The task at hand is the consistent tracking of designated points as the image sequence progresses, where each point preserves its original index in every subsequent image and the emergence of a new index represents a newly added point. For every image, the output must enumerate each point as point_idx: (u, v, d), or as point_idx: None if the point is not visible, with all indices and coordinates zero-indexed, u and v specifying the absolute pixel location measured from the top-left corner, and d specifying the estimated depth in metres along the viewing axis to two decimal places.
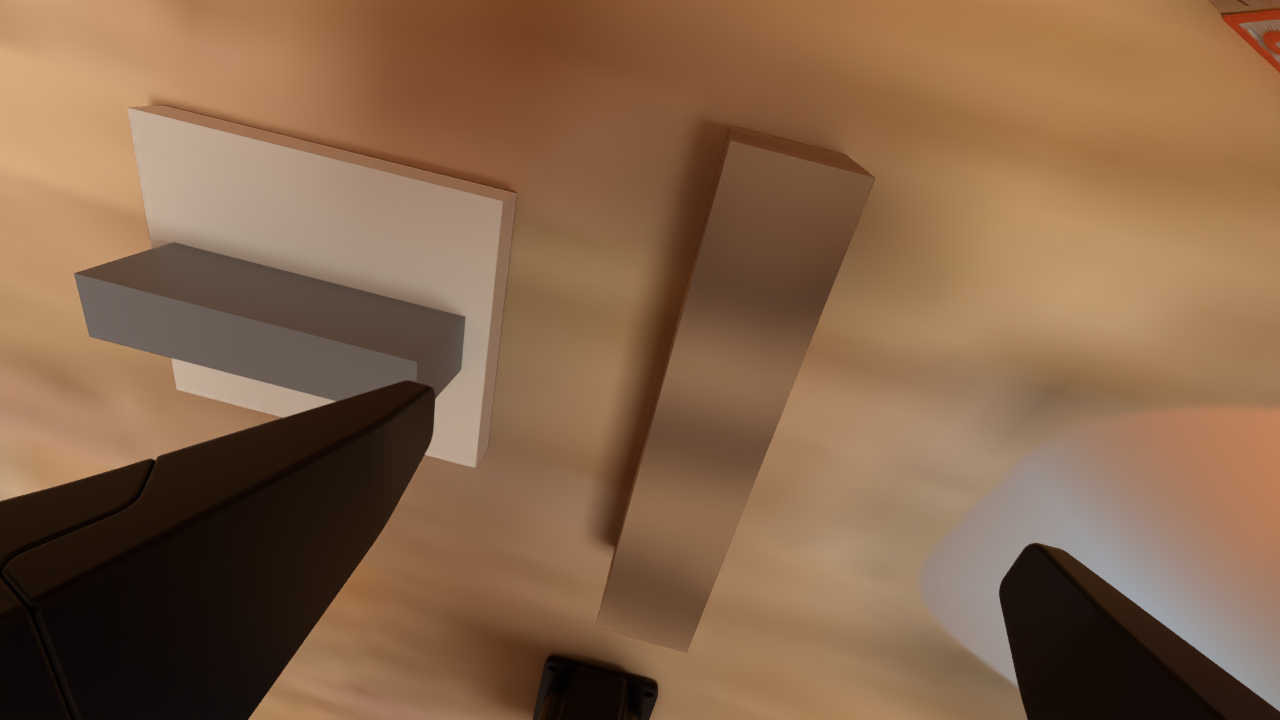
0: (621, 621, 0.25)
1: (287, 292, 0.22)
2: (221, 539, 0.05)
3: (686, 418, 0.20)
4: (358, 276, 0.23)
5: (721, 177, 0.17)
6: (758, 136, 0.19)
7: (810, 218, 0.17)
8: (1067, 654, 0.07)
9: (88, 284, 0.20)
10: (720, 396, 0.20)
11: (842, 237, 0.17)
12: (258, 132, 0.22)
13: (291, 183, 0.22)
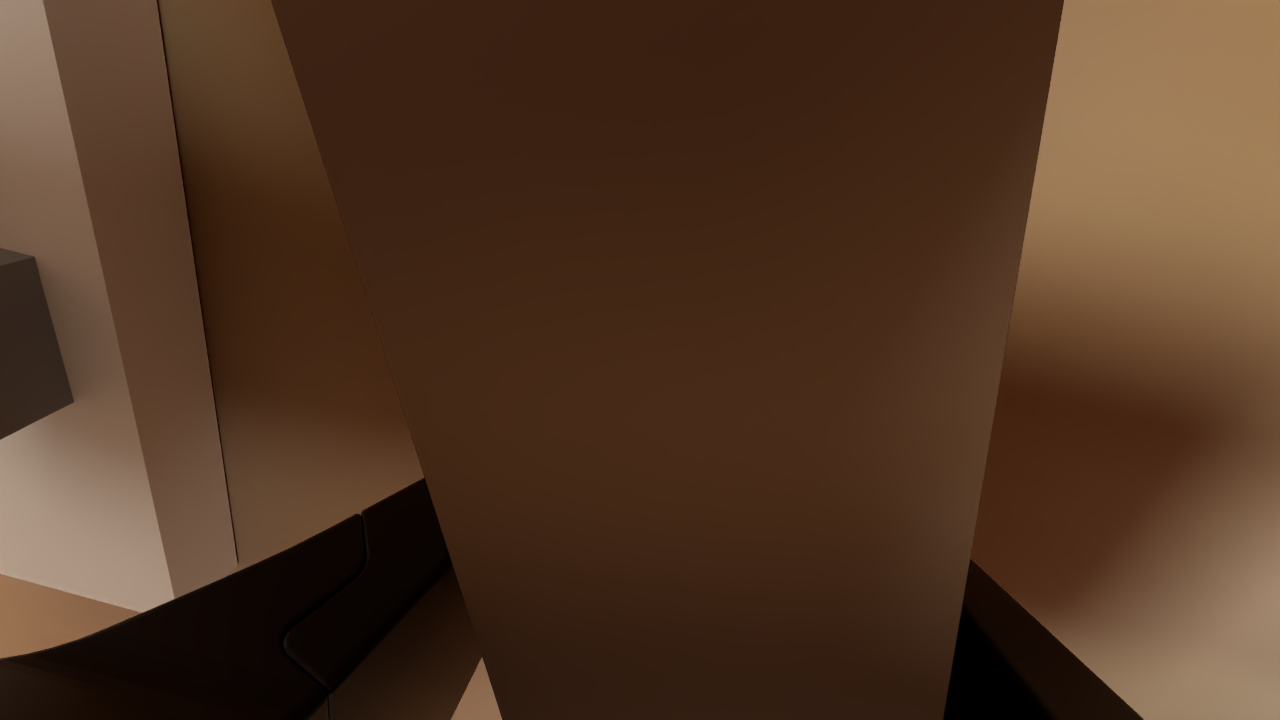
0: None
1: None
2: (440, 598, 0.05)
3: (593, 646, 0.05)
4: None
5: None
6: None
7: None
8: None
9: None
10: (677, 545, 0.05)
11: None
12: None
13: None
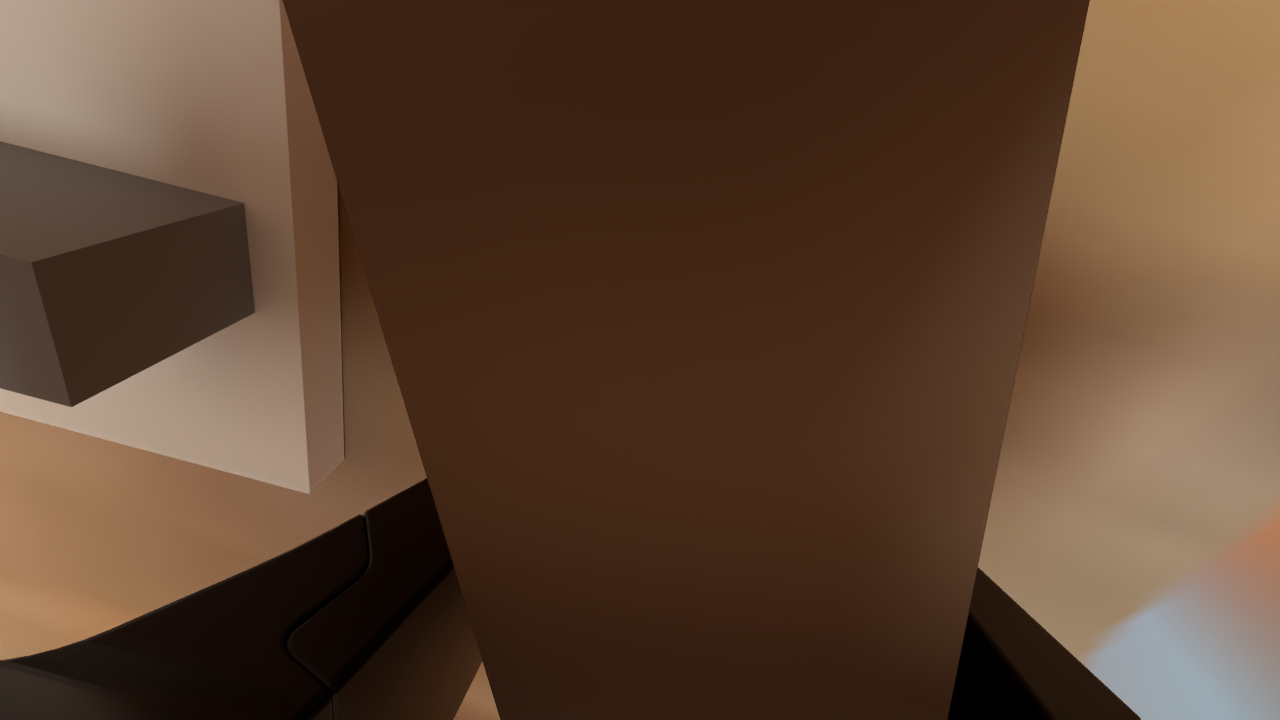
0: None
1: None
2: (443, 599, 0.05)
3: (593, 651, 0.05)
4: (28, 121, 0.12)
5: None
6: None
7: None
8: None
9: None
10: (682, 551, 0.05)
11: None
12: None
13: None
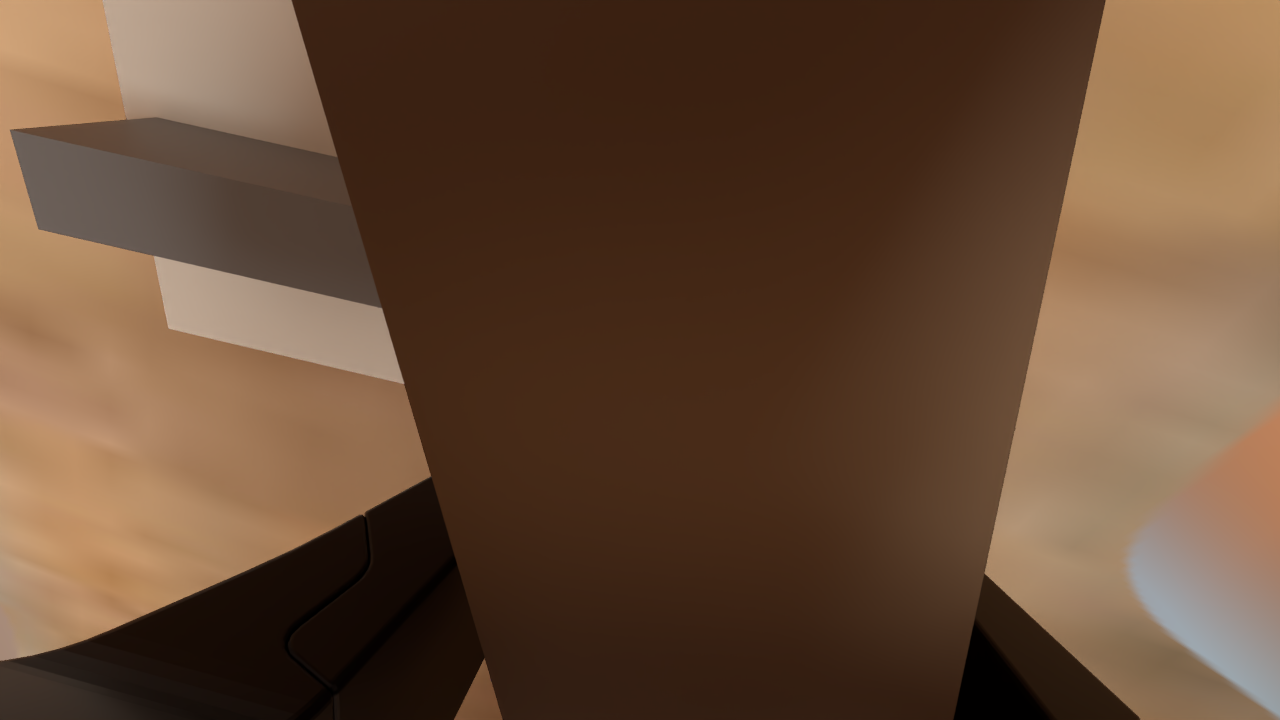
0: None
1: (311, 167, 0.16)
2: (444, 599, 0.05)
3: (598, 649, 0.05)
4: None
5: None
6: None
7: None
8: None
9: (31, 146, 0.14)
10: (687, 550, 0.04)
11: None
12: None
13: None
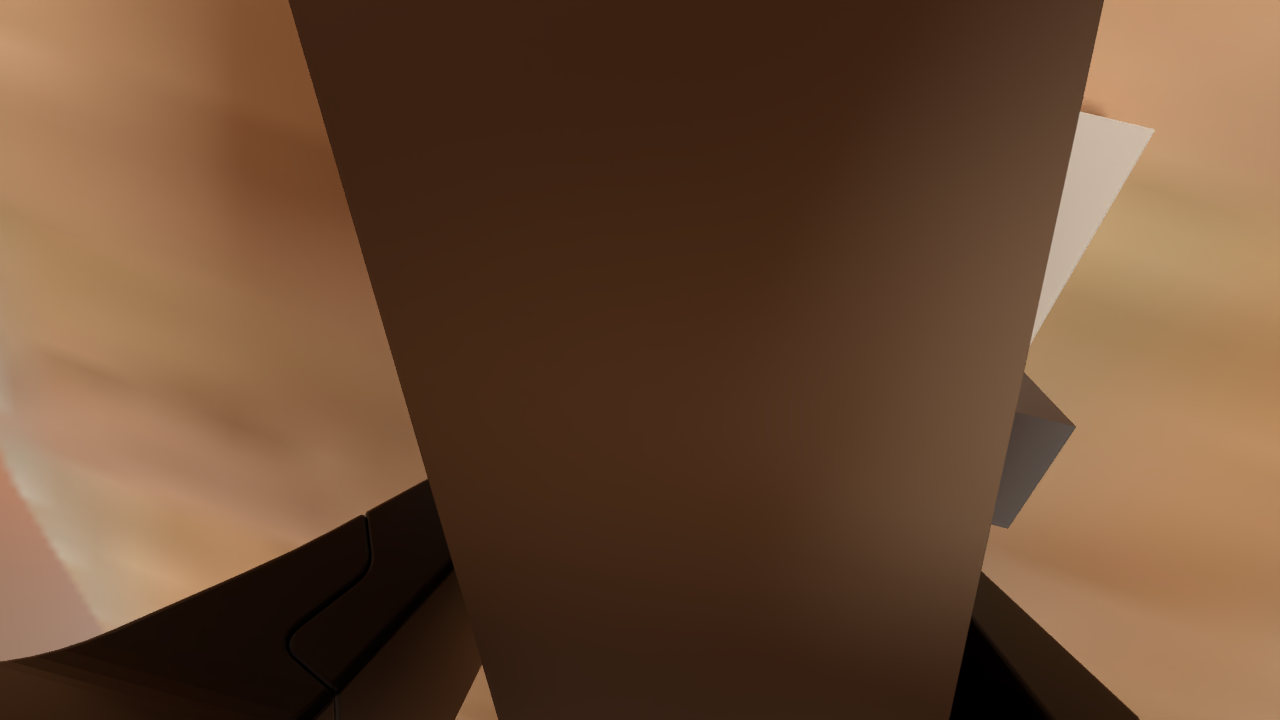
0: None
1: None
2: (445, 600, 0.05)
3: (592, 645, 0.05)
4: None
5: None
6: None
7: None
8: None
9: None
10: (682, 545, 0.04)
11: None
12: None
13: None
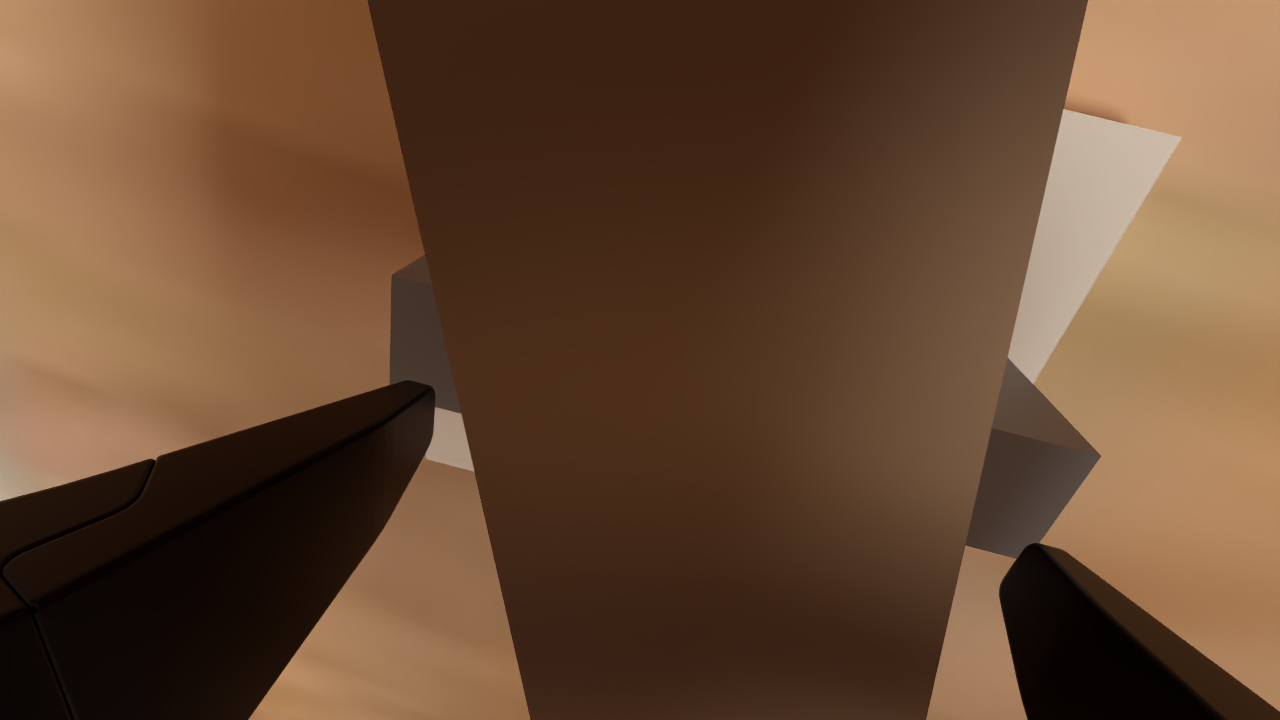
0: None
1: None
2: (221, 539, 0.05)
3: (612, 599, 0.06)
4: None
5: None
6: None
7: None
8: (1066, 654, 0.07)
9: (416, 297, 0.10)
10: (699, 504, 0.05)
11: None
12: None
13: None
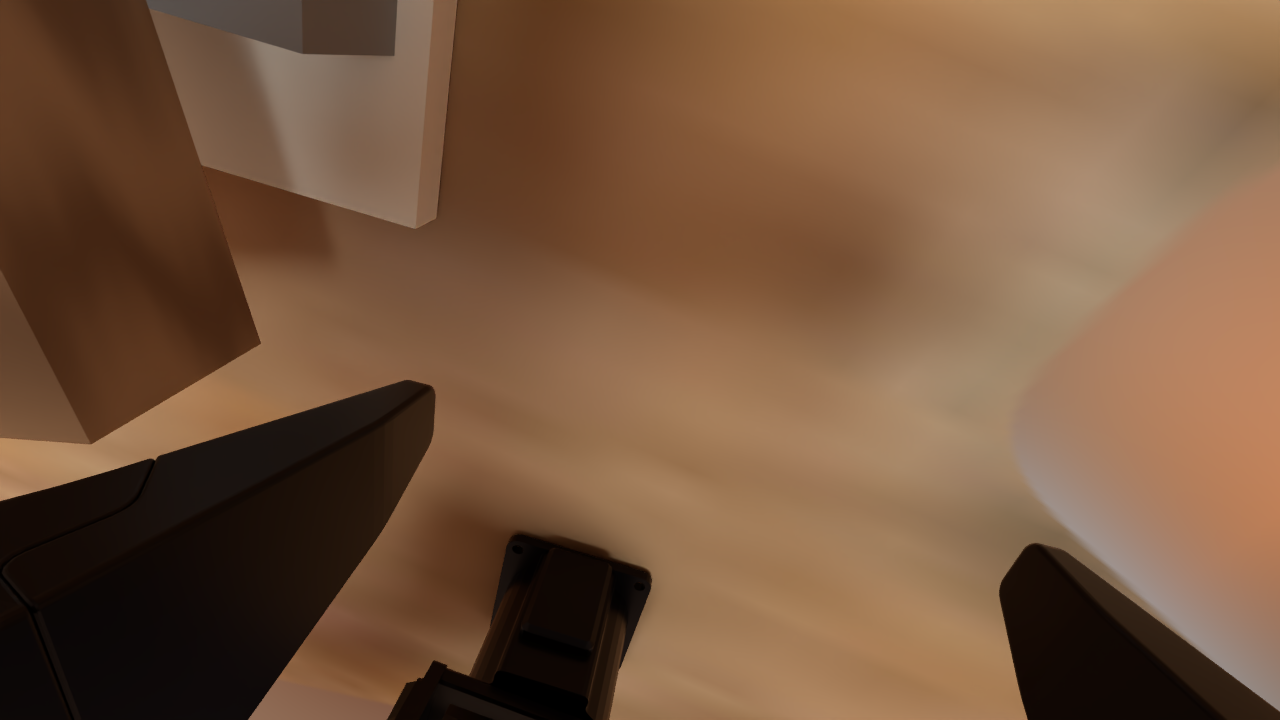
0: None
1: None
2: (221, 539, 0.05)
3: None
4: None
5: None
6: None
7: None
8: (1067, 654, 0.07)
9: None
10: None
11: None
12: None
13: None
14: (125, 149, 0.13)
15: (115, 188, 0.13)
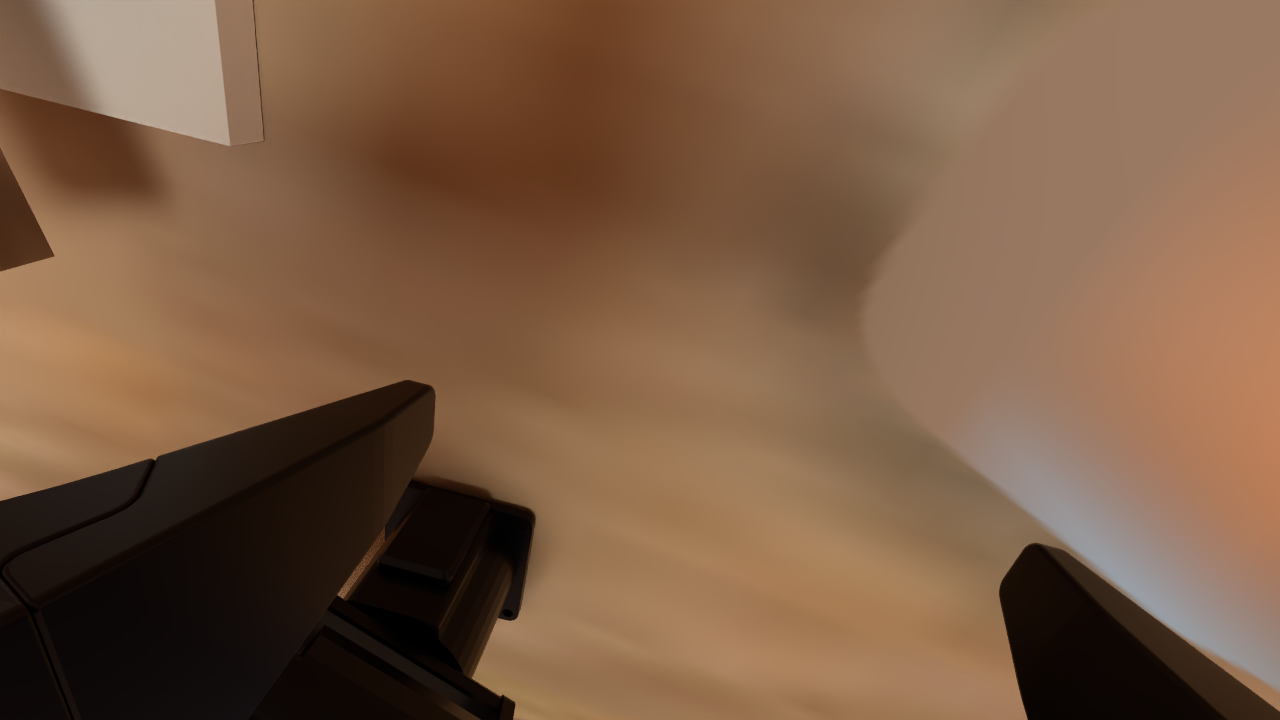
0: None
1: None
2: (220, 539, 0.05)
3: None
4: None
5: None
6: None
7: None
8: (1067, 654, 0.07)
9: None
10: None
11: None
12: None
13: None
14: None
15: None
